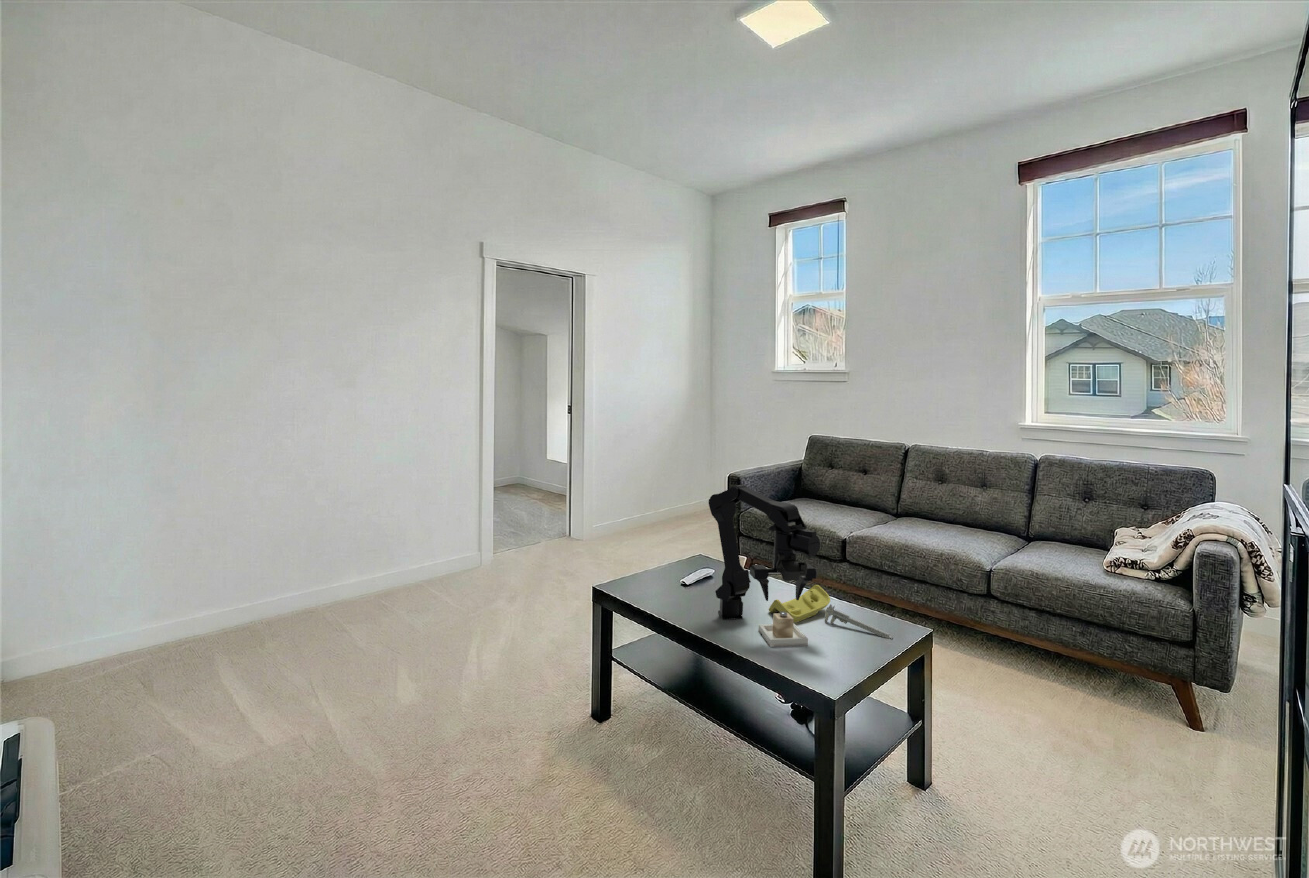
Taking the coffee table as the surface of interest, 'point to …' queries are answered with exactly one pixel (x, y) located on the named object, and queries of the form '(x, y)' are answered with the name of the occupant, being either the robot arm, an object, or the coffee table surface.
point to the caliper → (852, 621)
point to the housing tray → (797, 639)
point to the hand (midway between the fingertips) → (782, 600)
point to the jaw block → (782, 625)
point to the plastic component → (803, 604)
